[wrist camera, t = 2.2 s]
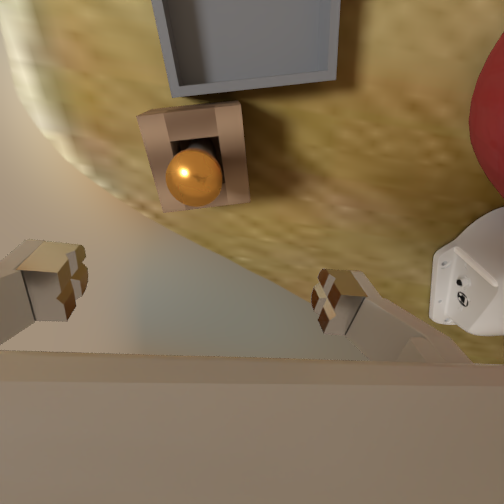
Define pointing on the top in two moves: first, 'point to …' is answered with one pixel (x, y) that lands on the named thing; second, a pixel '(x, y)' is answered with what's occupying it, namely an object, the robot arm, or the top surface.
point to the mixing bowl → (490, 117)
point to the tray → (246, 43)
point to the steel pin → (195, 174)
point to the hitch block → (191, 127)
